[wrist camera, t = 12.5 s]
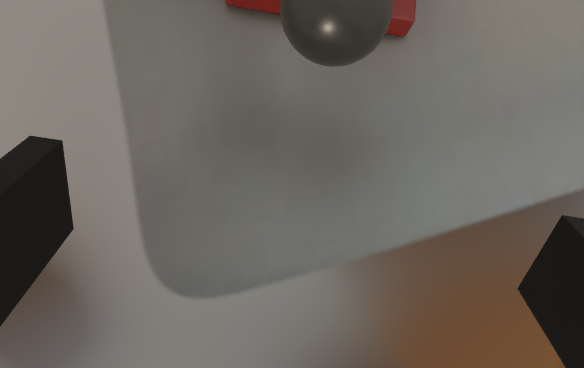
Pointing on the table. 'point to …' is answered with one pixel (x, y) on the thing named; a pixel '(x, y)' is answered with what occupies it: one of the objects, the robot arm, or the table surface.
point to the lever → (335, 28)
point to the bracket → (398, 26)
